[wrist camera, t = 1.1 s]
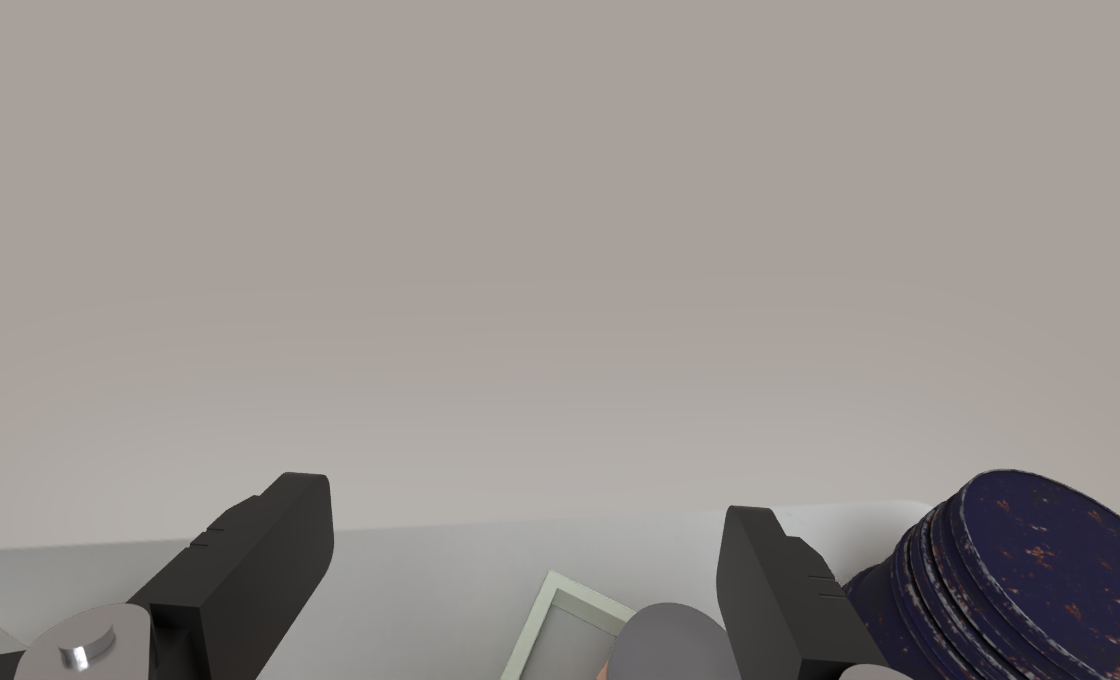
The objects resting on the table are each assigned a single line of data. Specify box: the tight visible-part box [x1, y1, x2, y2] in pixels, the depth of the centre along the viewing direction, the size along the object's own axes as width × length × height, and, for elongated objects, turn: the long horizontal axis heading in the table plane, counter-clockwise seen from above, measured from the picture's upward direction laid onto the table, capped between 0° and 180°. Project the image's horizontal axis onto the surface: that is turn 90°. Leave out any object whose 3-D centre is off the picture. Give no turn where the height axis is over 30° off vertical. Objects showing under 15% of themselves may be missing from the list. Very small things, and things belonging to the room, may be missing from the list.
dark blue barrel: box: [842, 469, 1120, 680], centre depth 27 cm, size 10×10×15 cm
